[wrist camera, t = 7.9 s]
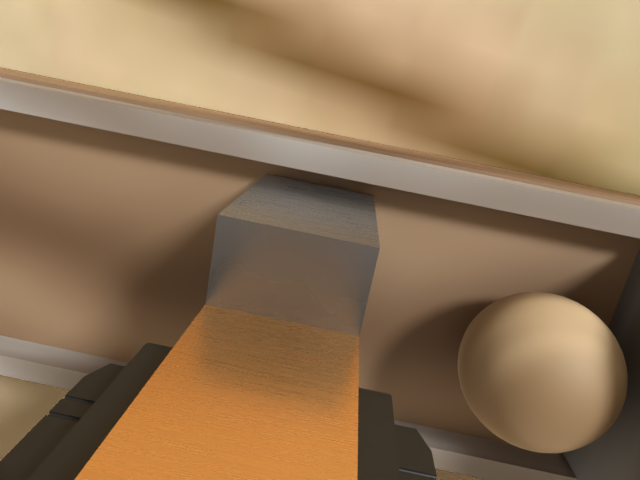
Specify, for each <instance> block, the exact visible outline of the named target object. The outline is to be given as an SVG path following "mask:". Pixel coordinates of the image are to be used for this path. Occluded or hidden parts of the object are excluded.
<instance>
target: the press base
mask: <svg viewBox="0 0 640 480" xmlns="http://www.w3.org/2000/svg"><path fill="white" fill-rule="evenodd" d="M266 174H272V175H277V176H282V177H287V178H292V179H297V180H302V181H307V182H312V183H317V184H321V185H326V186H331V187H336V188H341V189H346V190H351V191H356V192H361V193H366V194H371V195H374V201H375V210H376V218H377V227H378V235H379V244H380V250H379V254H378V258H377V263H376V267H375V271H374V275H373V280H372V284H371V288H370V292H369V297H368V301H367V305H366V309H365V314H364V318H363V322H362V326H361V331H360V335H359V387H360V388H364V389H369V390H374V391H378V392H383V393H388V394H391V396H392V403H393V413H394V423H395V424H396V425H401V426H405V427H410V428H415V429H417V431H418V432H419V434H420V435H421V437H422V438H423V439H424V441H425V442H426V444H427V445H428V447H429V448H430V450H431V451H432V455H433V460H434V465H435V469H439V470H444V471H448V472H453V473H458V474H462V475H467V476H472V477H476V478H481V479H486V480H640V196H637V195H632V194H627V193H623V192H618V191H613V190H608V189H603V188H598V187H593V186H588V185H583V184H578V183H573V182H568V181H563V180H558V179H553V178H548V177H543V176H538V175H533V174H528V173H523V172H518V171H513V170H508V169H503V168H498V167H493V166H488V165H483V164H478V163H473V162H468V161H463V160H458V159H453V158H448V157H443V156H438V155H433V154H428V153H424V152H419V151H414V150H409V149H404V148H399V147H394V146H389V145H384V144H379V143H374V142H369V141H364V140H359V139H354V138H349V137H344V136H339V135H334V134H329V133H324V132H319V131H314V130H309V129H304V128H299V127H294V126H289V125H284V124H279V123H274V122H269V121H264V120H259V119H254V118H249V117H244V116H239V115H234V114H229V113H225V112H220V111H215V110H210V109H205V108H200V107H195V106H190V105H185V104H180V103H175V102H170V101H165V100H160V99H155V98H150V97H145V96H140V95H135V94H130V93H125V92H120V91H115V90H110V89H105V88H100V87H95V86H90V85H85V84H80V83H75V82H70V81H65V80H60V79H55V78H50V77H45V76H40V75H35V74H30V73H26V72H21V71H16V70H11V69H6V68H1V67H0V375H3V376H7V377H12V378H17V379H21V380H26V381H31V382H35V383H40V384H45V385H49V386H54V387H58V388H63V389H68V390H71V389H72V388H73V387H74V386H75V385H76V384H77V383H78V382H79V381H80V380H81V379H82V378H83V377H84V376H86V375H88V374H90V373H92V372H94V371H96V370H98V369H100V368H102V367H104V366H106V365H108V364H110V363H112V364H117V365H121V366H127V364H128V363H129V362H130V361H131V360H132V359H133V358H134V356H135V355H136V354H137V353H138V352H139V351H140V349H141V348H142V347H143V346H144V345H145V344H146V343H154V344H158V345H163V346H168V347H174V346H175V344H176V343H177V342H178V340H179V339H180V338H181V336H182V335H183V334H184V332H185V331H186V330H187V328H188V327H189V326H190V324H191V323H192V321H193V320H194V319H195V317H196V316H197V315H198V313H199V312H200V311H201V309H202V308H203V307H204V305H205V303H206V296H207V289H208V281H209V274H210V267H211V259H212V252H213V244H214V237H215V230H216V222H217V215H218V214H219V213H220V212H221V211H222V210H224V209H225V208H226V207H227V206H228V205H230V204H231V203H232V202H233V201H234V200H236V199H237V198H238V197H239V196H240V195H242V194H243V193H244V192H245V191H246V190H248V189H249V188H250V187H251V186H252V185H254V184H255V183H256V182H257V181H258V180H260V179H261V178H262V177H263V176H264V175H266ZM523 292H544V293H551V294H556V295H560V296H563V297H566V298H568V299H571V300H573V301H575V302H578V303H579V304H581V305H583V306H584V307H586V308H587V309H589V310H590V311H591V312H593V313H594V314H595V315H597V316H598V317H599V318H600V319H601V320H602V321H603V322H604V323H605V324H606V326H607V327H608V328H609V329H610V330H611V332H612V333H613V335H614V336H615V338H616V340H617V342H618V343H619V345H620V348H621V350H622V352H623V355H624V358H625V362H626V366H627V373H628V386H627V395H626V399H625V402H624V405H623V408H622V410H621V412H620V414H619V416H618V418H617V420H616V421H615V422H614V424H613V425H612V426H611V427H610V429H609V430H608V431H607V432H606V433H604V434H603V435H602V436H601V437H600V438H598V439H597V440H595V441H594V442H592V443H590V444H588V445H587V446H584V447H582V448H579V449H576V450H572V451H568V452H562V453H540V452H533V451H529V450H526V449H522V448H519V447H517V446H514V445H512V444H510V443H508V442H506V441H504V440H503V439H501V438H499V437H498V436H496V435H495V434H494V433H492V432H491V431H490V430H489V429H488V428H486V427H485V426H484V425H483V424H482V423H481V422H480V420H479V419H478V418H477V417H476V415H475V414H474V413H473V411H472V410H471V408H470V407H469V405H468V403H467V401H466V399H465V397H464V395H463V392H462V389H461V386H460V381H459V377H458V367H457V365H458V352H459V348H460V344H461V341H462V338H463V336H464V333H465V331H466V330H467V328H468V326H469V324H470V323H471V322H472V320H473V319H474V318H475V317H476V316H477V315H478V314H479V313H480V312H481V311H482V310H483V309H485V308H486V307H487V306H489V305H490V304H492V303H493V302H495V301H497V300H499V299H501V298H504V297H507V296H510V295H513V294H518V293H523Z"/></svg>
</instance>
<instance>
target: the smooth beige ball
mask: <svg viewBox="0 0 640 480" xmlns="http://www.w3.org/2000/svg"><path fill="white" fill-rule="evenodd" d="M457 367H458V377H459V381H460V386H461V389H462V392H463V395H464V397H465V399H466V401H467V403H468V405H469V407H470V408H471V410H472V411H473V413H474V414H475V415H476V417H477V418H478V419H479V420H480V422H481V423H482V424H483V425H484V426H485V427H486V428H488V429H489V430H490V431H491V432H492V433H494V434H495V435H496V436H498V437H499V438H501V439H503V440H504V441H506V442H508V443H510V444H512V445H514V446H517V447H519V448H522V449H526V450H529V451H533V452H540V453H562V452H568V451H572V450H576V449H579V448H582V447H584V446H587V445H588V444H590V443H592V442H594V441H595V440H597V439H598V438H600V437H601V436H602V435H603V434H604V433H606V432H607V431H608V430H609V429H610V427H611V426H612V425H613V424H614V422H615V421H616V420H617V418H618V416H619V414H620V412H621V410H622V408H623V405H624V402H625V399H626V395H627V386H628V373H627V366H626V362H625V358H624V355H623V352H622V350H621V348H620V345H619V343H618V342H617V340H616V338H615V336H614V335H613V333H612V332H611V330H610V329H609V328H608V327H607V326H606V324H605V323H604V322H603V321H602V320H601V319H600V318H599V317H598V316H597V315H595V314H594V313H593V312H591V311H590V310H589V309H587V308H586V307H584V306H583V305H581V304H579V303H578V302H575V301H573V300H571V299H568V298H566V297H563V296H560V295H556V294H551V293H544V292H523V293H518V294H513V295H510V296H507V297H504V298H501V299H499V300H497V301H495V302H493V303H492V304H490V305H489V306H487V307H486V308H485V309H483V310H482V311H481V312H480V313H479V314H478V315H477V316H476V317H475V318H474V319H473V320H472V322H471V323H470V324H469V326H468V328H467V330H466V331H465V333H464V336H463V338H462V341H461V344H460V348H459V352H458V365H457Z"/></svg>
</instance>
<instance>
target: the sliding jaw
mask: <svg viewBox="0 0 640 480" xmlns="http://www.w3.org/2000/svg"><path fill="white" fill-rule="evenodd" d="M379 250H380V244H379V235H378V227H377V218H376V210H375V201H374V195H371V194H366V193H361V192H356V191H351V190H346V189H341V188H336V187H331V186H326V185H321V184H317V183H312V182H307V181H302V180H297V179H292V178H287V177H282V176H277V175H272V174H266V175H264V176H263V177H262V178H261V179H260V180H258V181H257V182H256V183H255V184H254V185H252V186H251V187H250V188H249V189H248V190H246V191H245V192H244V193H243V194H242V195H240V196H239V197H238V198H237V199H236V200H234V201H233V202H232V203H231V204H230V205H228V206H227V207H226V208H225V209H224V210H222V211H221V212H220V213H219V214H218V215H217V222H216V230H215V237H214V244H213V252H212V259H211V267H210V274H209V281H208V289H207V296H206V303H205V305H204V307H203V308H202V309H201V311H200V312H199V313H198V315H197V316H196V317H195V319H194V320H193V321H192V323H191V324H190V326H189V327H188V328H187V330H186V331H185V332H184V334H183V335H182V336H181V338H180V339H179V340H178V342H177V343H176V344H175V346H174V347H173V348H172V350H171V351H170V352H169V354H168V355H167V356H166V358H165V359H164V360H163V362H162V363H161V364H160V366H159V367H158V368H157V370H156V371H155V372H154V374H153V375H152V376H151V378H150V379H149V380H148V382H147V383H146V384H145V386H144V387H143V388H142V390H141V391H140V393H139V394H138V395H137V397H136V398H135V399H134V401H133V402H132V403H131V405H130V406H129V407H128V409H127V410H126V411H125V413H124V414H123V415H122V417H121V418H120V419H119V421H118V422H117V423H116V425H115V426H114V427H113V429H112V430H111V431H110V433H109V434H108V435H107V437H106V438H105V439H104V441H103V442H102V443H101V445H100V446H99V447H98V449H97V450H96V451H95V453H94V454H93V456H92V457H91V458H90V460H89V461H88V462H87V464H86V465H85V466H84V468H83V469H82V470H81V472H80V473H79V474H78V476H77V477H76V478H75V480H357V475H358V388H359V335H360V331H361V326H362V322H363V318H364V314H365V309H366V305H367V301H368V297H369V292H370V288H371V284H372V280H373V275H374V271H375V267H376V263H377V258H378V254H379Z"/></svg>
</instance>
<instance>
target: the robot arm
mask: <svg viewBox="0 0 640 480" xmlns="http://www.w3.org/2000/svg"><path fill="white" fill-rule="evenodd" d="M172 348H173V347H168V346H163V345H158V344H154V343H146V344H145V345H144V346H143V347H142V348H141V349H140V351H139V352H138V353H137V354H136V355H135V356H134V358H133V359H132V360H131V361H130V362H129V363H128V364H127V366H121V365H117V364H112V363H110V364H108V365H106V366H104V367H102V368H100V369H98V370H96V371H94V372H92V373H90V374H88V375H86V376H84V377H83V378H82V379H81V380H80V381H79V382H78V383H77V384H76V385H75V386H74V387H73V388H72V389H71V390H70V391H69V392H68V393H67V394H66V396H65V399H61V400H60V401H59V402H58V403H57V404H56V405H55V406H54V407H53V409H52V410H51V411H50V413H49V415H48V416H47V415H46V416H45V417H44V418H43V419H42V420H41V421H40V422H39V423H38V424H37V425H36V426H35V427H34V428H33V429H32V430H31V431H30V432H29V433H28V434H27V435H26V436H25V437H24V438H23V439H22V440H21V441H20V442H19V443H18V444H17V445H16V446H15V447H14V448H13V449H12V450H11V451H10V452H9V453H8V454H7V455H6V456H5V457H4V458H3V459H2V460H1V461H0V480H75V478H76V477H77V476H78V474H79V473H80V472H81V470H82V469H83V468H84V466H85V465H86V464H87V462H88V461H89V460H90V458H91V457H92V456H93V454H94V453H95V451H96V450H97V449H98V447H99V446H100V445H101V443H102V442H103V441H104V439H105V438H106V437H107V435H108V434H109V433H110V431H111V430H112V429H113V427H114V426H115V425H116V423H117V422H118V421H119V419H120V418H121V417H122V415H123V414H124V413H125V411H126V410H127V409H128V407H129V406H130V405H131V403H132V402H133V401H134V399H135V398H136V397H137V395H138V394H139V393H140V391H141V390H142V388H143V387H144V386H145V384H146V383H147V382H148V380H149V379H150V378H151V376H152V375H153V374H154V372H155V371H156V370H157V368H158V367H159V366H160V364H161V363H162V362H163V360H164V359H165V358H166V356H167V355H168V354H169V352H170V351H171V350H172ZM357 480H436V470H435V465H434V460H433V455H432V451H431V450H430V448H429V447H428V445H427V444H426V442H425V441H424V439H423V438H422V437H421V435H420V434H419V432H418V431H417V429H415V428H410V427H405V426H401V425H396V424H395V423H394V413H393V403H392V396H391V394H388V393H383V392H378V391H374V390H369V389H364V388H360V387H359V388H358V475H357Z"/></svg>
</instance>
